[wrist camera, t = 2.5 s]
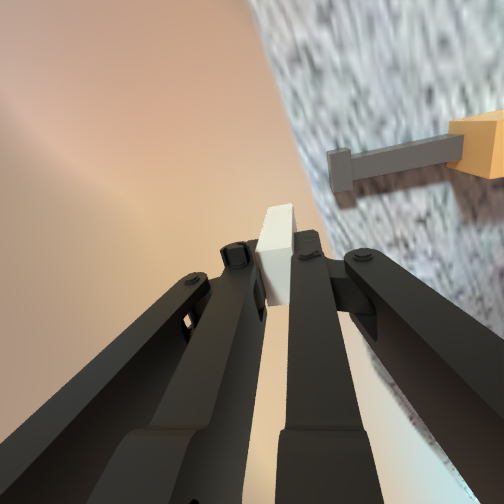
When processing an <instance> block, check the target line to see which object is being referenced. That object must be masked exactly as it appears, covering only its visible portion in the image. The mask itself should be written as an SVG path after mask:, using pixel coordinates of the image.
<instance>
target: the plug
mask: <svg viewBox="0 0 504 504" xmlns="http://www.w3.org/2000/svg"><path fill="white" fill-rule="evenodd" d="M327 160H328V169H329V179H330V187H331V189H332V191H333V193H337V192H343V191H348V190H353V180H358V179H363V178H368V177H373V176H378V175H383V174H389V173H394V172H399V171H404V170H409V169H414V168H419V167H424V166H429V165H435V164H440V163H445V162H446V167H448V168H451V169H455V170H458V171H462V172H465V173H469V174H472V175H476V176H479V177H483V178H487V179H494V178H500V177H504V109H502V110H497V111H493V112H489V113H484V114H480V115H475V116H471V117H466V118H462V119H458V120H453V121H449V132H448V134H444V135H440V136H435V137H431V138H426V139H421V140H417V141H412V142H408V143H403V144H398V145H394V146H389V147H385V148H380V149H375V150H371V151H366V152H362V153H357V154H352V155H351V150H350V149H348V148H346V147H345V148H340V149H336V150H331V151H327Z"/></svg>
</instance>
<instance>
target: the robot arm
mask: <svg viewBox="0 0 504 504" xmlns="http://www.w3.org/2000/svg"><path fill="white" fill-rule="evenodd" d="M220 253H221V256H222V259H223V263H224V266H225V269H224V271H223V273H222V275H221V276H220V277H217V278H214V279H211V280H208V277H207V274H205V273H203V272H197V273H196V272H194V273H190V274H188V275H187V276H185V277H183V278H182V279H180V280H179V281H178V282H177V283H176V284H175V285H174V286H173V287H172V288H170V289H169V290H168V291H167V292H166V293H165V294H164V295H163V296H162V297H160V298H159V299H158V300H157V301H156V302H155V303H154V304H153V305H152V306H151V307H149V308H148V309H147V310H146V311H145V312H144V313H143V314H142V315H141V316H140V317H139V318H137V319H136V320H135V321H134V322H133V323H132V324H131V325H130V326H129V327H128V328H127V329H125V330H124V331H123V332H122V333H121V334H120V335H119V336H118V337H117V338H116V339H115V340H114V341H112V342H111V343H110V344H109V345H108V346H107V347H106V348H105V349H104V350H102V352H100V353H99V354H98V355H97V356H96V357H95V358H94V359H93V360H92V361H90V362H89V363H88V364H87V365H86V366H85V367H84V368H83V369H82V370H81V371H80V372H79V373H77V374H76V375H75V376H74V377H73V378H72V379H71V380H70V381H69V382H68V383H66V384H65V385H64V386H63V387H62V388H61V389H60V390H59V391H58V392H57V393H56V394H54V395H53V396H52V397H51V398H50V399H49V400H48V401H47V402H46V403H45V404H43V405H42V406H41V407H40V408H39V409H38V410H37V411H36V412H35V413H34V414H33V415H31V416H30V417H29V418H28V419H27V420H26V421H25V422H24V423H23V424H22V425H20V426H19V427H18V428H17V429H16V430H15V431H14V432H13V433H12V434H11V435H10V436H8V437H7V438H6V439H5V440H4V441H3V442H2V443H1V444H0V504H242V491H243V483H244V477H245V470H246V462H247V455H248V448H249V441H250V433H251V426H252V418H253V412H254V405H255V397H256V390H257V383H258V376H259V368H260V361H261V354H262V347H263V339H264V332H265V325H266V318H267V310H266V306H265V299H267V303H268V306H276V305H287V304H289V333H288V364H287V365H288V367H287V399H286V423H285V429H283V430H281V431H280V435H279V442H278V453H277V471H276V490H275V504H384V500H383V496H382V492H381V488H380V483H379V479H378V475H377V471H376V466H375V462H374V458H373V454H372V450H371V446H370V442H369V439H368V435H367V432H366V431H365V430H364V427H363V424H362V420H361V415H360V411H359V406H358V402H357V398H356V393H355V389H354V384H353V380H352V375H351V371H350V367H349V362H348V359H347V353H346V350H345V344H344V340H343V336H342V331H341V327H340V322H339V318H338V314H337V311H342V312H349V315H350V317H351V319H352V321H353V322H354V324H355V325H356V327H357V328H358V329H359V331H360V332H361V334H362V335H363V337H364V338H365V339H366V341H367V342H368V344H369V345H370V347H371V348H372V349H373V351H374V352H375V354H376V355H377V357H378V358H379V359H380V361H381V362H382V364H383V365H384V366H385V368H386V369H387V371H388V372H389V374H390V375H391V376H392V378H393V379H394V381H395V382H396V384H397V385H398V386H399V388H400V389H401V391H402V392H403V394H404V395H405V396H406V398H407V399H408V401H409V402H410V404H411V405H412V406H413V408H414V409H415V411H416V412H417V414H418V415H419V416H420V418H421V419H422V421H423V422H424V423H425V425H426V426H427V428H428V429H429V431H430V432H431V433H432V435H433V436H434V438H435V439H436V441H437V442H438V443H439V445H440V446H441V448H442V449H443V451H444V452H445V453H446V455H447V456H448V458H449V459H450V461H451V462H452V463H453V465H454V466H455V468H456V469H457V470H458V472H459V473H460V475H461V476H462V478H463V479H464V480H465V482H466V483H467V485H468V486H469V488H470V489H471V490H472V492H473V493H474V495H475V496H476V498H477V499H478V500H479V502H480V503H481V504H504V340H503V339H502V338H501V337H499V336H498V335H496V334H495V333H494V332H492V331H491V330H489V329H488V328H487V327H485V326H484V325H482V324H481V323H480V322H478V321H477V320H475V319H474V318H473V317H471V316H470V315H468V314H467V313H466V312H464V311H463V310H461V309H460V308H459V307H457V306H456V305H454V304H453V303H452V302H450V301H449V300H447V299H446V298H445V297H443V296H442V295H440V294H439V293H438V292H436V291H435V290H433V289H432V288H431V287H429V286H428V285H426V284H425V283H424V282H422V281H421V280H419V279H418V278H417V277H415V276H414V275H412V274H411V273H410V272H408V271H407V270H405V269H404V268H403V267H401V266H400V265H398V264H397V263H396V262H394V261H393V260H391V259H390V258H389V257H387V256H386V255H384V254H383V253H382V252H380V251H378V250H375V249H370V248H359V249H355V250H352V251H349V252H348V253H346V254H345V256H344V260H333V259H329V258H327V257H325V256H324V253H323V251H322V248H321V243H320V239H319V234H318V232H317V231H315V230H307V231H301V232H297V228H296V222H295V216H294V210H293V204H292V203H290V204H284V205H279V206H274V207H269V208H268V211H267V214H266V218H265V221H264V225H263V228H262V231H261V234H260V237H259V239H255V240H249V241H247V242H244V241H242V242H235V243H232V244H229V245H226V246H225V247H223V248H222V249H221V250H220ZM187 314H188V316H189V318H190V321H191V323H192V324H191V325H190V326H189V327H188V328H187V326H186V325H185V322H184V320H183V319H184V318H185V316H186V315H187Z"/></svg>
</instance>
